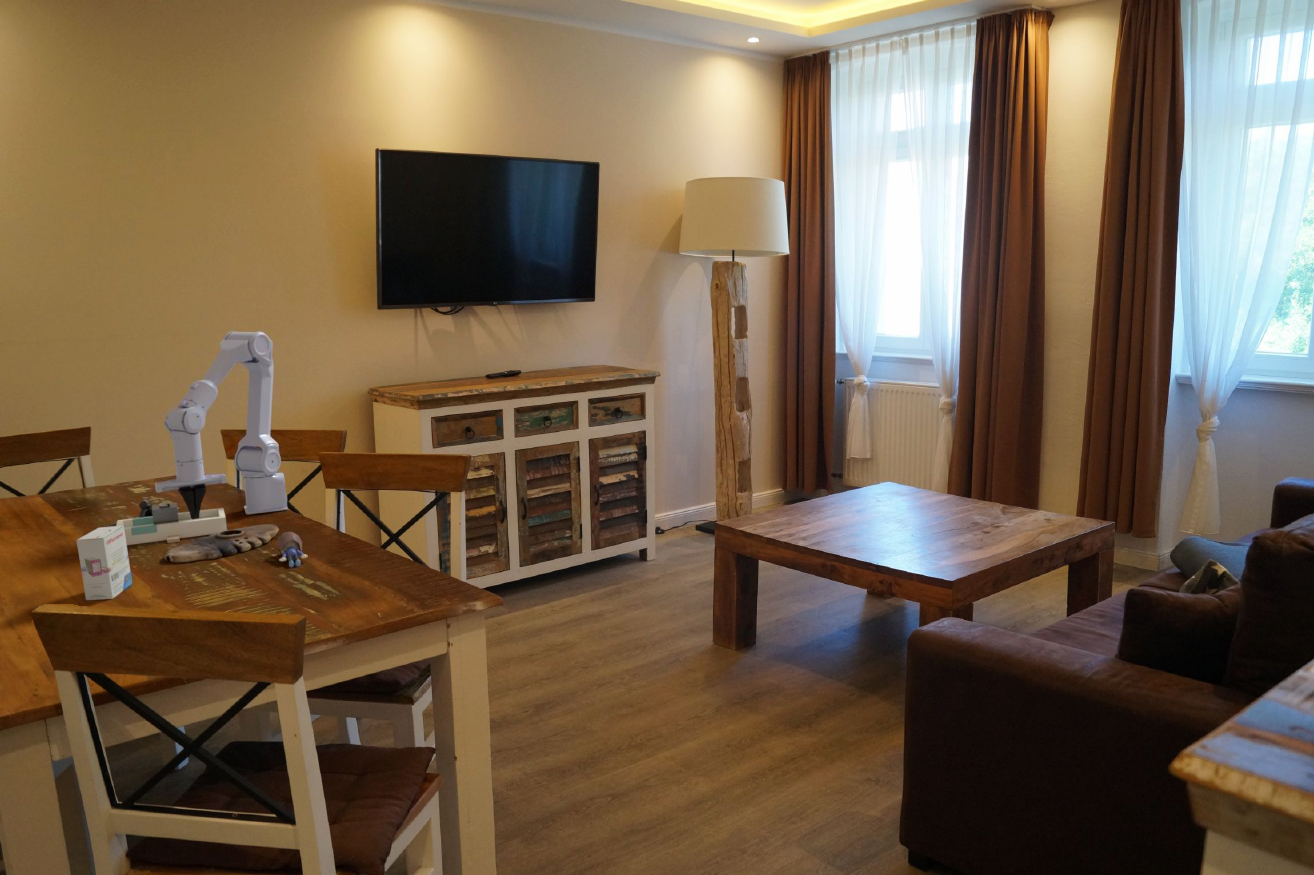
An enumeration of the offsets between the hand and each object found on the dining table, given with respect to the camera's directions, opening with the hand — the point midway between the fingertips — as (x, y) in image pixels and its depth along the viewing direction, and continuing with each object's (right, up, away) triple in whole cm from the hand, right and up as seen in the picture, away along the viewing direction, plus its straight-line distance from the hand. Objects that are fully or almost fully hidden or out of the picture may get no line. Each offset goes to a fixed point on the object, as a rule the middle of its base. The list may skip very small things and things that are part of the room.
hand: (195, 518), depth 221 cm
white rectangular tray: (-4, -4, -3) cm, 6 cm away
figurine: (+31, -7, -22) cm, 39 cm away
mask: (+12, -6, -13) cm, 19 cm away
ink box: (+3, -11, -41) cm, 42 cm away
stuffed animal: (-15, -3, +8) cm, 17 cm away
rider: (-5, -2, -2) cm, 6 cm away
